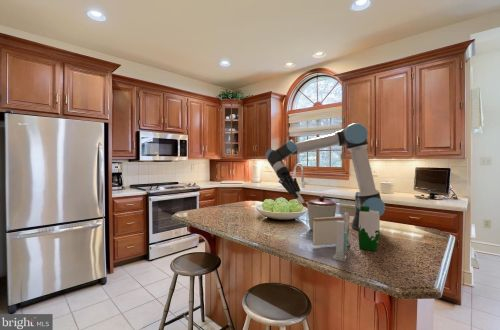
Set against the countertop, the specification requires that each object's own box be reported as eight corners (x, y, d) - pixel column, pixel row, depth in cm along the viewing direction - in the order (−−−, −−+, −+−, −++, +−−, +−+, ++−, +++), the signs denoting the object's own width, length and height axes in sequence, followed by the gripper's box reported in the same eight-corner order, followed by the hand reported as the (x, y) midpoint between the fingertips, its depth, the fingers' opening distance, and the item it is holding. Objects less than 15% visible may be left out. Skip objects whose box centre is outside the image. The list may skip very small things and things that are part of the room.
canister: (307, 234, 144) (308, 197, 143) (304, 226, 162) (304, 193, 161) (340, 235, 142) (341, 198, 141) (333, 227, 160) (333, 194, 159)
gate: (340, 241, 127) (341, 216, 127) (343, 243, 125) (343, 217, 125) (312, 244, 122) (313, 218, 122) (314, 245, 120) (315, 219, 120)
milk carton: (359, 243, 129) (360, 204, 128) (379, 247, 124) (380, 206, 123) (356, 248, 121) (358, 207, 121) (377, 252, 116) (379, 209, 116)
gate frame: (341, 242, 130) (342, 211, 129) (351, 244, 127) (352, 212, 127) (332, 259, 108) (333, 222, 107) (345, 261, 105) (346, 223, 105)
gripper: (286, 174, 156) (306, 205, 143) (270, 174, 148) (289, 207, 135) (292, 166, 152) (313, 197, 139) (276, 166, 144) (297, 199, 131)
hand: (301, 202), depth 137 cm, fingers closed
